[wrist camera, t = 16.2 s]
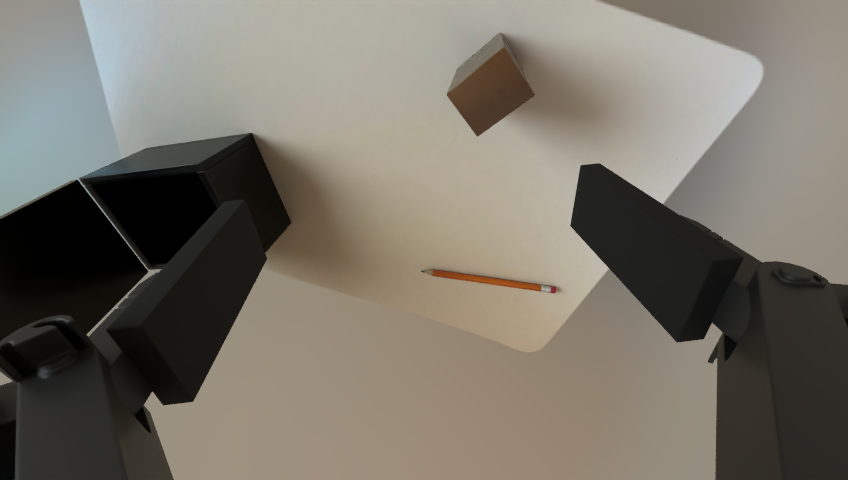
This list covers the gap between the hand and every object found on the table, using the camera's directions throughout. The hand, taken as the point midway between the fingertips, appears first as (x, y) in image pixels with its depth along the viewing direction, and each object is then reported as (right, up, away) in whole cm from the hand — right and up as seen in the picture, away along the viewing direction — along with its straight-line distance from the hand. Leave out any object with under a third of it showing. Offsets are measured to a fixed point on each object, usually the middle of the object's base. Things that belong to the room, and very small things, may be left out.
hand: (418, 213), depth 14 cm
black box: (-27, +6, +33) cm, 43 cm away
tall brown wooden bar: (+7, +16, +20) cm, 27 cm away
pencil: (+9, -6, +35) cm, 37 cm away
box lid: (-35, -4, +20) cm, 41 cm away
